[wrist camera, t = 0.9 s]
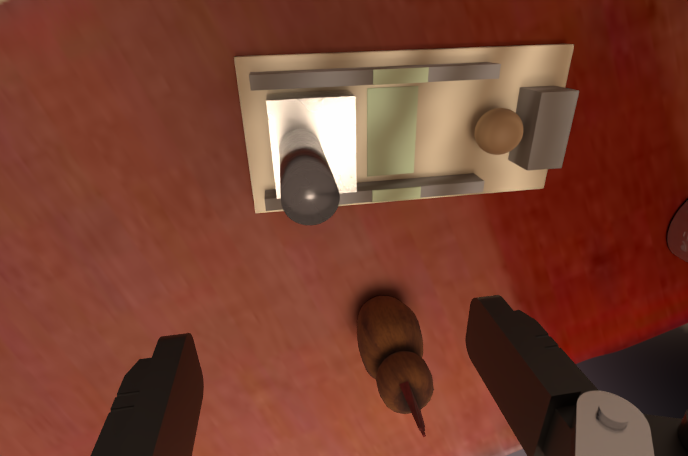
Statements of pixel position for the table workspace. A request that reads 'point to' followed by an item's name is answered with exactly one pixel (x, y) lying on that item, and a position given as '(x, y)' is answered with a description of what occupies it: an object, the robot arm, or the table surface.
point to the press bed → (421, 117)
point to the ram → (312, 151)
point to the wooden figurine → (395, 355)
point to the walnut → (498, 131)
